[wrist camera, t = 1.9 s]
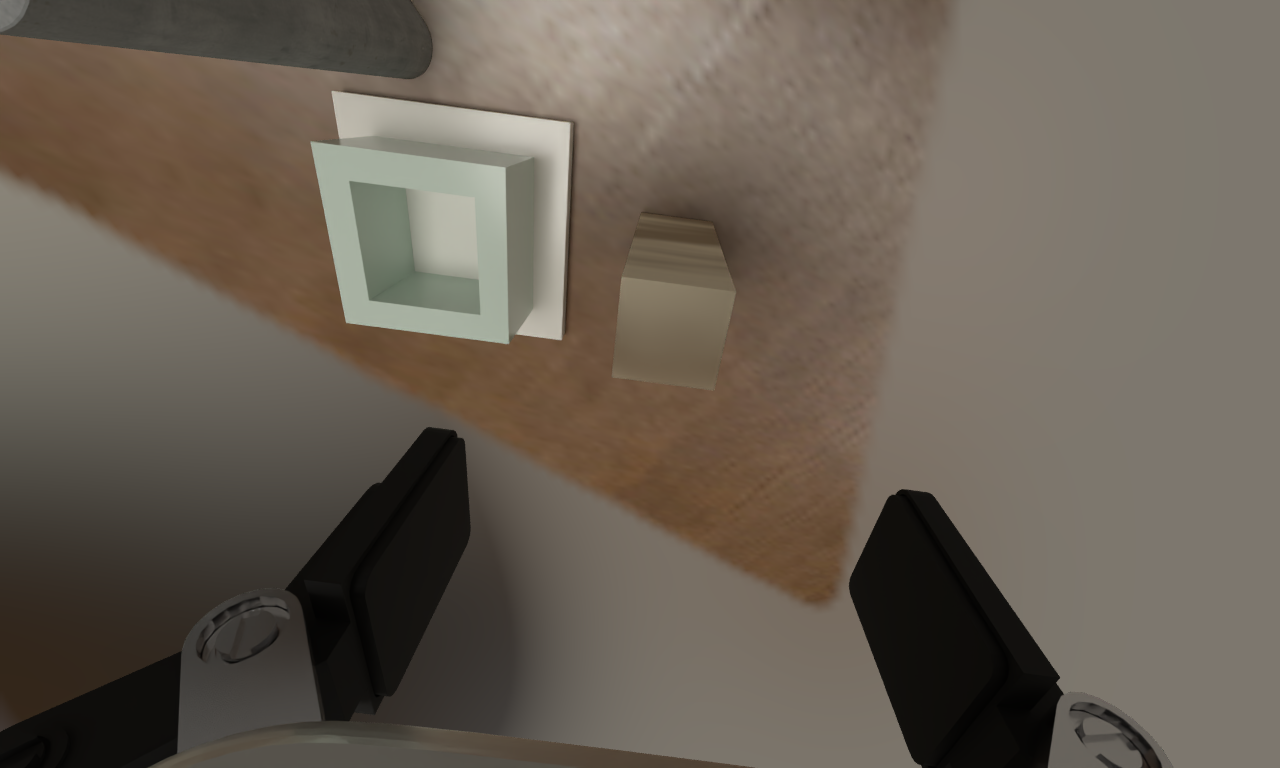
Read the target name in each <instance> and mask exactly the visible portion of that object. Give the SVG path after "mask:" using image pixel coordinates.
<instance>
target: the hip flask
mask: <svg viewBox="0 0 1280 768" xmlns="http://www.w3.org/2000/svg"><path fill="white" fill-rule="evenodd" d="M0 34H1V35H10V36H19V37H29V38H38V39H47V40H56V41H65V42H74V43H83V44H92V45H101V46H110V47H120V48H129V49H138V50H147V51H156V52H165V53H174V54H183V55H192V56H201V57H210V58H220V59H229V60H238V61H247V62H256V63H265V64H274V65H283V66H292V67H301V68H311V69H320V70H329V71H338V72H347V73H356V74H365V75H374V76H383V77H392V78H402V79H413V78H416V77H418V76H420V75H421V74H423V73H424V72H425V70H426V69H427V68H428V66H429V64H430V61H431V57H432V40H431V36H430V33H429V30H428V28H427V25H426V24H425V22H424V20H423V19H422V17H421V16H420V14H419V13H418V11H417V10H416V8H415V7H414V5H413V4H412V2H411V1H410V0H0Z"/></svg>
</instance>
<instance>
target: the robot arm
mask: <svg viewBox="0 0 1280 768" xmlns="http://www.w3.org/2000/svg"><path fill="white" fill-rule="evenodd" d="M469 536H470V513H469V498H468V483H467V467H466V453H465V441H464V439H462V438H457V433H456V431H454V430H447V429H440V428H432V427H428V428H426V429H425V430H424V431H423V432H422V433H421V435H420V436H419V437H418V438H417V440H416V441H415V442H414V443H413V444H412V446H411V447H410V448H409V449H408V451H407V452H406V453H405V455H404V456H403V457H402V458H401V460H400V461H399V462H398V463H397V465H396V466H395V467H394V468H393V469H392V471H391V472H390V473H389V474H388V476H387V477H386V478H385V480H384V481H383V482H382V483H376V484H374V485H372V486H371V487H370V488H369V489H368V490H367V491H366V492H365V493H364V495H363V496H362V497H361V498H360V499H359V501H358V502H357V503H356V504H355V506H354V507H353V508H352V509H351V510H350V512H349V513H348V514H347V515H346V516H345V518H344V519H343V520H342V521H341V522H340V524H339V525H338V526H337V527H336V529H335V530H334V531H333V532H332V533H331V535H330V536H329V537H328V538H327V539H326V541H325V542H324V543H323V544H322V546H321V547H320V548H319V549H318V550H317V552H316V553H315V554H314V555H313V556H312V558H311V559H310V560H309V561H308V563H307V564H306V565H305V566H304V567H303V568H302V570H301V571H300V572H299V573H298V575H297V576H296V577H295V578H294V580H293V581H292V582H291V583H290V584H289V585H288V587H287V588H286V589H285V590H282V589H277V588H269V589H258V590H255V591H251V592H247V593H243V594H240V595H238V596H236V597H234V598H232V599H229V600H227V601H225V602H223V603H222V604H220V605H219V606H217V607H216V608H214V609H213V610H211V611H210V612H208V613H207V614H206V615H205V616H204V617H203V618H202V619H201V620H200V621H199V622H198V623H197V624H196V625H195V626H194V627H193V629H192V630H191V632H190V633H189V635H188V636H187V638H186V639H185V642H184V646H183V650H182V651H181V652H179V653H176V654H174V655H172V656H170V657H167V658H165V659H163V660H160V661H158V662H156V663H154V664H152V665H149V666H147V667H145V668H142V669H140V670H138V671H135V672H133V673H131V674H129V675H126V676H124V677H122V678H120V679H117V680H115V681H113V682H110V683H108V684H106V685H104V686H101V687H99V688H97V689H95V690H92V691H90V692H88V693H85V694H83V695H81V696H79V697H76V698H74V699H72V700H69V701H67V702H65V703H63V704H61V705H58V706H56V707H54V708H51V709H49V710H47V711H45V712H42V713H40V714H38V715H35V716H33V717H31V718H29V719H26V720H24V721H22V722H20V723H17V724H15V725H13V726H11V727H9V728H7V729H5V730H3V731H1V732H0V768H753V767H745V766H738V765H730V764H722V763H714V762H707V761H699V760H691V759H684V758H676V757H668V756H660V755H652V754H644V753H636V752H629V751H621V750H613V749H605V748H596V747H588V746H580V745H572V744H564V743H556V742H548V741H538V740H531V739H522V738H515V737H506V736H499V735H491V734H482V733H474V732H463V731H455V730H444V729H435V728H426V727H416V726H406V725H397V724H387V723H370V722H350V719H351V717H352V715H353V713H354V712H356V713H364V714H372V715H375V713H376V711H377V709H378V707H379V705H380V703H381V701H382V699H383V697H384V696H392V695H393V694H394V693H395V691H396V690H397V688H398V686H399V684H400V682H401V679H402V678H403V676H404V674H405V672H406V669H407V667H408V665H409V663H410V661H411V659H412V657H413V655H414V653H415V651H416V648H417V646H418V645H419V643H420V641H421V639H422V636H423V634H424V632H425V630H426V628H427V626H428V624H429V622H430V620H431V618H432V616H433V614H434V612H435V609H436V607H437V605H438V603H439V601H440V599H441V597H442V595H443V593H444V591H445V589H446V587H447V585H448V583H449V581H450V579H451V576H452V574H453V572H454V570H455V568H456V566H457V564H458V562H459V560H460V558H461V556H462V554H463V552H464V550H465V548H466V546H467V543H468V540H469ZM849 590H850V595H851V597H852V600H853V603H854V605H855V608H856V611H857V614H858V616H859V619H860V622H861V624H862V626H863V630H864V632H865V635H866V638H867V640H868V643H869V646H870V648H871V651H872V654H873V656H874V659H875V662H876V664H877V667H878V669H879V672H880V675H881V678H882V680H883V682H884V685H885V688H886V691H887V694H888V696H889V699H890V702H891V704H892V707H893V709H894V712H895V715H896V717H897V720H898V723H899V725H900V728H901V731H902V734H903V736H904V739H905V742H906V744H907V747H908V750H909V752H910V754H911V756H912V758H913V760H914V761H915V762H916V763H917V764H919V765H921V766H922V768H1173V766H1172V764H1171V762H1170V761H1169V759H1168V757H1167V756H1166V754H1165V753H1164V750H1163V749H1162V748H1161V747H1160V746H1159V745H1158V744H1157V742H1156V741H1155V740H1154V739H1153V737H1152V736H1151V735H1150V734H1149V733H1148V732H1147V731H1146V730H1145V729H1144V728H1142V727H1141V726H1140V725H1139V724H1138V723H1137V722H1136V721H1135V720H1134V719H1132V718H1131V717H1130V716H1128V715H1127V714H1125V713H1124V712H1122V711H1121V710H1120V709H1118V708H1117V707H1115V706H1113V705H1112V704H1110V703H1108V702H1106V701H1104V700H1102V699H1100V698H1098V697H1095V696H1092V695H1088V694H1085V693H1079V692H1069V693H1067V694H1063V692H1062V691H1061V690H1060V688H1059V686H1058V685H1057V684H1056V682H1057V681H1058V680H1059V679H1060V677H1059V675H1058V674H1057V672H1056V671H1055V670H1054V668H1053V667H1052V665H1051V664H1050V662H1049V661H1048V659H1047V658H1046V657H1045V655H1044V654H1043V652H1042V651H1041V649H1040V648H1039V646H1038V645H1037V644H1036V642H1035V641H1034V639H1033V638H1032V636H1031V635H1030V634H1029V632H1028V631H1027V629H1026V628H1025V626H1024V625H1023V623H1022V622H1021V621H1020V619H1019V618H1018V616H1017V615H1016V613H1015V612H1014V611H1013V609H1012V608H1011V606H1010V605H1009V603H1008V602H1007V601H1006V599H1005V598H1004V596H1003V595H1002V593H1001V592H1000V591H999V589H998V588H997V586H996V585H995V583H994V582H993V580H992V579H991V578H990V576H989V575H988V573H987V572H986V570H985V569H984V567H983V566H982V565H981V563H980V562H979V560H978V559H977V557H976V556H975V555H974V553H973V552H972V550H971V549H970V547H969V546H968V545H967V543H966V542H965V540H964V539H963V537H962V536H961V535H960V533H959V532H958V530H957V529H956V527H955V526H954V524H953V523H952V522H951V520H950V519H949V517H948V516H947V514H946V513H945V512H944V510H943V509H942V507H941V506H940V504H939V503H938V501H937V500H936V499H935V497H934V496H933V495H932V494H930V493H927V492H920V491H913V490H904V489H902V490H899V491H898V492H897V493H896V495H891V496H889V498H888V499H887V501H886V503H885V505H884V508H883V509H882V512H881V514H880V516H879V518H878V520H877V522H876V524H875V526H874V528H873V531H872V533H871V535H870V537H869V539H868V541H867V543H866V545H865V548H864V550H863V552H862V554H861V556H860V558H859V560H858V562H857V564H856V567H855V569H854V571H853V573H852V575H851V577H850V582H849Z"/></svg>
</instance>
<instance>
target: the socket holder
mask: <svg viewBox="0 0 1280 768" xmlns="http://www.w3.org/2000/svg"><path fill="white" fill-rule="evenodd" d="M332 97H333V103H334V109H335V115H336V121H337V127H338V133H339V138H340V139H333V140H322V141H311V146H312V152H313V157H314V162H315V167H316V172H317V177H318V182H319V187H320V192H321V197H322V202H323V207H324V212H325V218H326V223H327V228H328V233H329V238H330V243H331V248H332V253H333V258H334V263H335V268H336V273H337V279H338V284H339V289H340V294H341V299H342V304H343V309H344V314H345V319H346V323H352V324H360V325H367V326H375V327H383V328H390V329H398V330H405V331H413V332H421V333H428V334H436V335H444V336H451V337H459V338H467V339H474V340H482V341H489V342H497V343H505V344H509V343H510V342H511V340H512V339H513V337H514V336H515V334H518V335H526V336H534V337H541V338H549V339H557V340H562V338H563V336H564V334H565V314H566V291H567V268H568V245H569V222H570V198H571V175H572V152H573V129H574V122H568V121H560V120H553V119H545V118H538V117H530V116H523V115H515V114H508V113H500V112H493V111H486V110H478V109H471V108H463V107H456V106H448V105H441V104H433V103H426V102H418V101H411V100H403V99H396V98H388V97H381V96H374V95H366V94H359V93H351V92H344V91H332Z"/></svg>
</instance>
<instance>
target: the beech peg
mask: <svg viewBox="0 0 1280 768" xmlns="http://www.w3.org/2000/svg"><path fill="white" fill-rule="evenodd" d="M735 295H736V290H735V287H734V284H733V281H732V278H731V275H730V272H729V269H728V266H727V264H726V261H725V258H724V255H723V252H722V249H721V246H720V243H719V240H718V237H717V234H716V231H715V229H714V226H713V223H712V222H710V221H703V220H695V219H688V218H680V217H673V216H665V215H658V214H650V213H642V212H641V215H640V218H639V222H638V225H637V228H636V231H635V235H634V238H633V241H632V245H631V248H630V251H629V254H628V258H627V261H626V264H625V267H624V271H623V274H622V278H621V288H620V298H619V308H618V318H617V328H616V338H615V348H614V358H613V368H612V377H614V378H622V379H630V380H637V381H645V382H652V383H660V384H668V385H675V386H683V387H691V388H698V389H706V390H714V389H715V385H716V380H717V376H718V371H719V367H720V362H721V358H722V353H723V349H724V344H725V340H726V335H727V331H728V326H729V322H730V317H731V313H732V308H733V304H734V300H735Z"/></svg>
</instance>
